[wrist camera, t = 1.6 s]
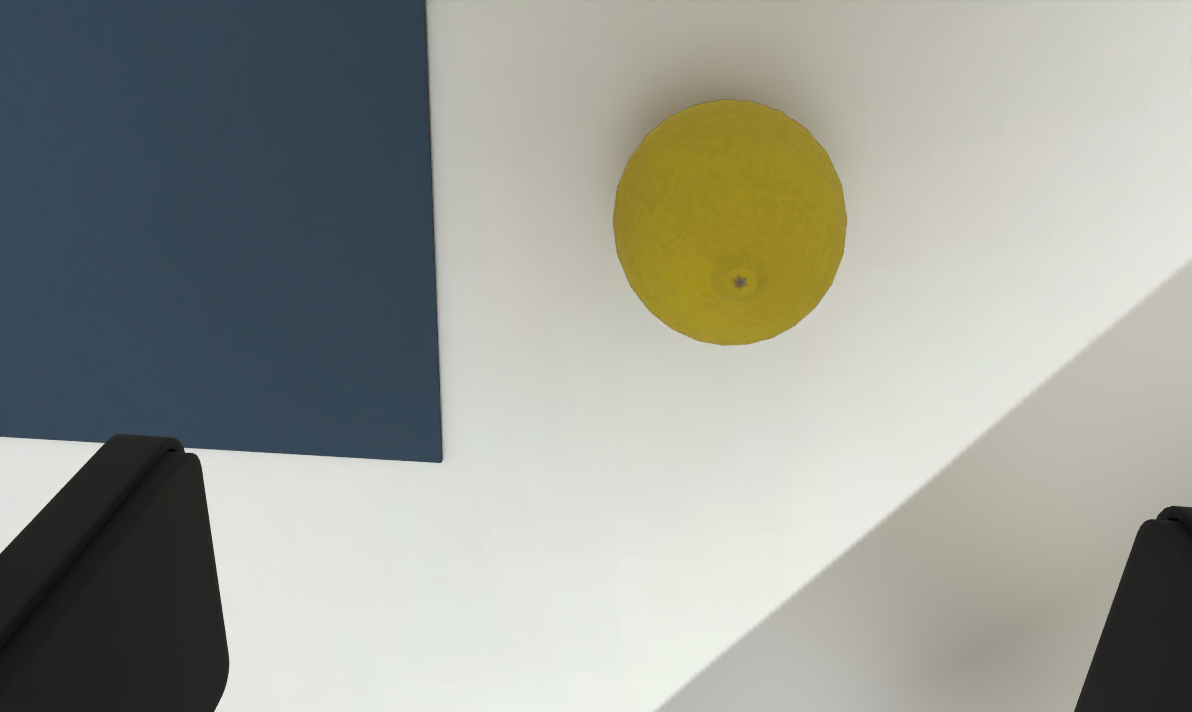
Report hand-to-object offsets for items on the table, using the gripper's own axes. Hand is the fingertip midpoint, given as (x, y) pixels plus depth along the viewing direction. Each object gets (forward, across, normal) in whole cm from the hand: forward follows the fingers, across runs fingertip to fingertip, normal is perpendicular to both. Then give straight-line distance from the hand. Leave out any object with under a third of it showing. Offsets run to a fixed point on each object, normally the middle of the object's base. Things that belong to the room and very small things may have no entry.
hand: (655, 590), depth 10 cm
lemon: (+19, -2, +1) cm, 20 cm away
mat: (+19, +14, +1) cm, 24 cm away
